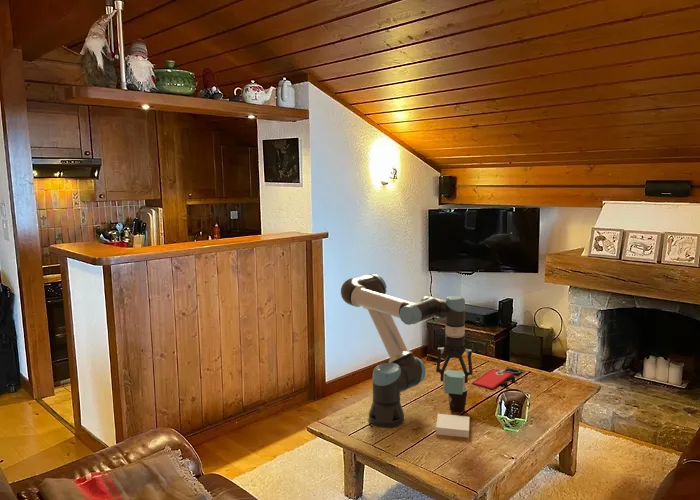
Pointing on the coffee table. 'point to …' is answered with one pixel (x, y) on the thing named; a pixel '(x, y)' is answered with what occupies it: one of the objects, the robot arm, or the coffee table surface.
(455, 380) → the teal cube
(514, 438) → the coffee table surface
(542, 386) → the coffee table surface
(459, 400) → the coffee mug
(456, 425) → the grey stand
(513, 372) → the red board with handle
